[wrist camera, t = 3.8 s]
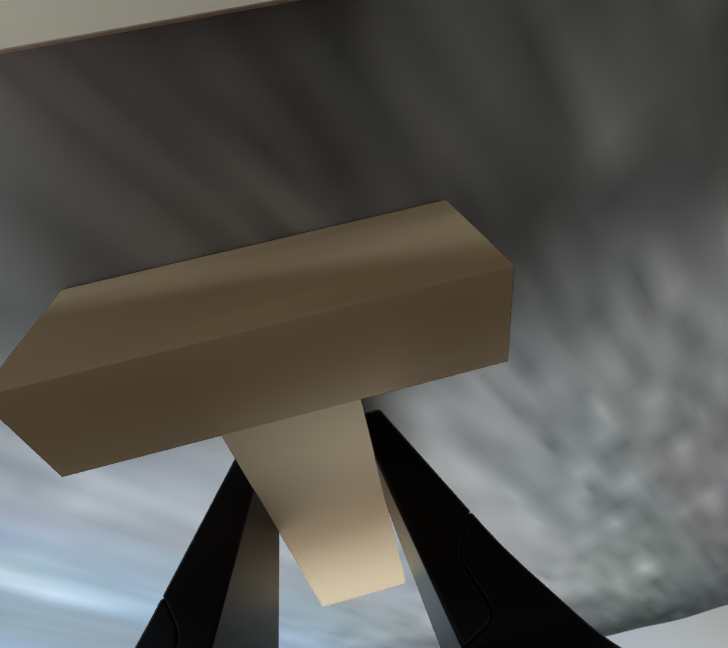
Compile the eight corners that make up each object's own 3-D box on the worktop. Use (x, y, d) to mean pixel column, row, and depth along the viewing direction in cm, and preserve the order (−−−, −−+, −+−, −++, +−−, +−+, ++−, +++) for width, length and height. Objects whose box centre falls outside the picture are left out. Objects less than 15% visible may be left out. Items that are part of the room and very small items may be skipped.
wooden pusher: (457, 471, 15) (495, 557, 12) (235, 531, 14) (229, 633, 12) (445, 199, 9) (514, 265, 6) (61, 289, 8) (-23, 397, 6)
